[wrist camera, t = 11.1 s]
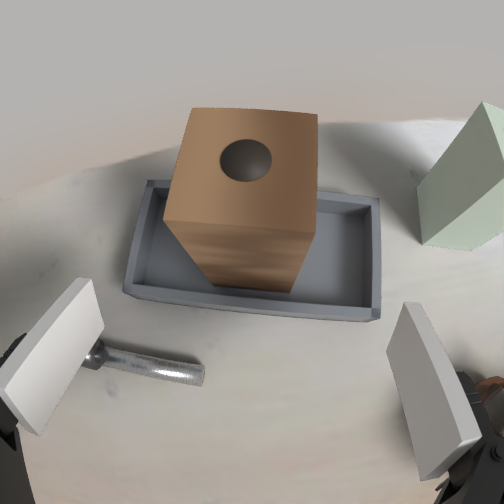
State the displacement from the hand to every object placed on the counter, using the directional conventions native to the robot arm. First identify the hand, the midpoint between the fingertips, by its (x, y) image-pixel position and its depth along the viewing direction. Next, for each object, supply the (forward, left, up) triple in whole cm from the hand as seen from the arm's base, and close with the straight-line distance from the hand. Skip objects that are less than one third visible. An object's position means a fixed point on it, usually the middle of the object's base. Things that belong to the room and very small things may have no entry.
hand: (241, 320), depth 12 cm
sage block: (+15, +10, -8) cm, 20 cm away
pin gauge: (-8, -3, -8) cm, 12 cm away
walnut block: (0, +5, -8) cm, 9 cm away
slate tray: (0, +5, -8) cm, 10 cm away
